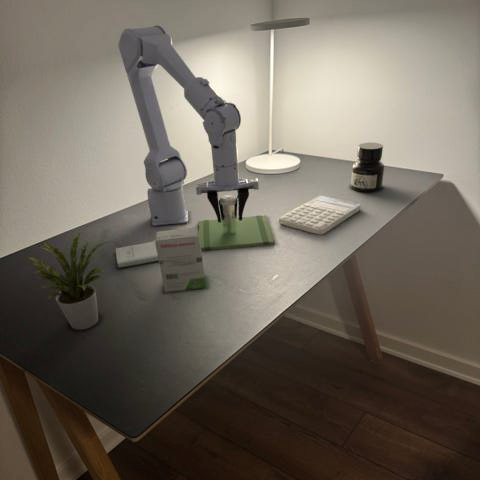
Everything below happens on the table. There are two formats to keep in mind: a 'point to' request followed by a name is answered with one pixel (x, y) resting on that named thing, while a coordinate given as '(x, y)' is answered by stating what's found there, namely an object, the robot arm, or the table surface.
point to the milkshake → (228, 214)
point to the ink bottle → (368, 168)
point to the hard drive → (136, 254)
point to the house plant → (73, 285)
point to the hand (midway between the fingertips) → (229, 219)
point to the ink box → (180, 259)
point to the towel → (246, 235)
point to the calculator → (320, 214)
